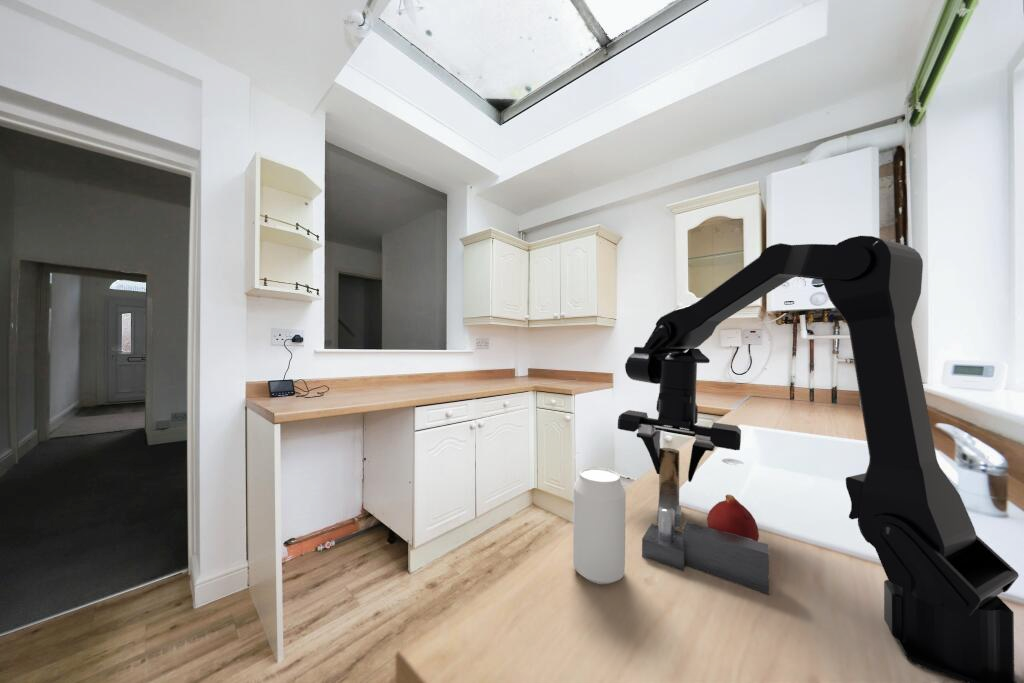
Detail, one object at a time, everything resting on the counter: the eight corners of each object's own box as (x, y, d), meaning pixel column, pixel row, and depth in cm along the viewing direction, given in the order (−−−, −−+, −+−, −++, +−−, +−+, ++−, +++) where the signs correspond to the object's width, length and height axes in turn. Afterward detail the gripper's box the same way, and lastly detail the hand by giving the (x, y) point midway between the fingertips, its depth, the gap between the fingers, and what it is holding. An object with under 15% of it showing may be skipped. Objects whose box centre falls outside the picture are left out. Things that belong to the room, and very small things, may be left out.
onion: (742, 544, 49) (742, 487, 49) (769, 570, 43) (769, 506, 43) (700, 541, 49) (700, 485, 49) (720, 566, 43) (720, 503, 44)
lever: (681, 542, 47) (681, 476, 47) (654, 536, 48) (654, 472, 49) (680, 501, 60) (680, 449, 60) (659, 497, 61) (659, 446, 62)
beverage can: (575, 553, 46) (576, 463, 46) (623, 561, 44) (624, 468, 44) (570, 583, 40) (571, 480, 40) (626, 594, 38) (627, 486, 38)
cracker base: (767, 577, 41) (768, 527, 42) (769, 602, 37) (769, 546, 38) (651, 539, 49) (651, 498, 49) (642, 556, 45) (642, 511, 45)
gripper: (743, 389, 60) (740, 477, 60) (635, 379, 71) (632, 453, 71) (741, 396, 51) (737, 499, 51) (618, 383, 62) (615, 469, 62)
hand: (674, 477), depth 59 cm, fingers open, 5 cm apart
